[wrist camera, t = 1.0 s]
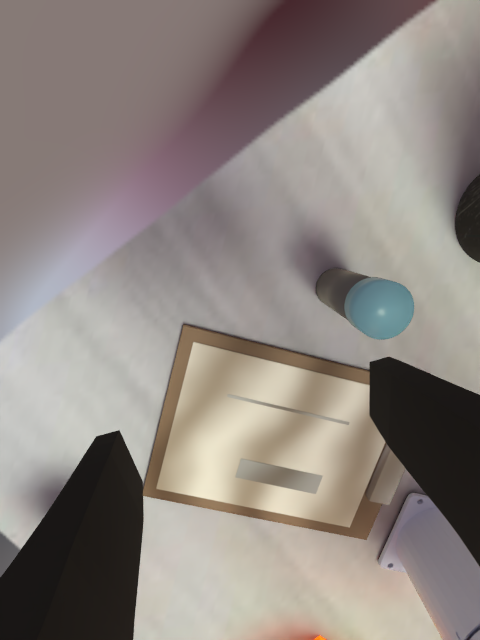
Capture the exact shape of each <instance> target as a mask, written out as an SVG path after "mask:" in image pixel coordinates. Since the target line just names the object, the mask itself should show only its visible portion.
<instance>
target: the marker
mask: <svg viewBox="0 0 480 640" xmlns="http://www.w3.org/2000/svg"><path fill="white" fill-rule="evenodd" d="M316 293H317V296H318V298H319V299H320V301H321V302H323V303H324V304H325V305H327V306H328V307H330V308H331V309H333V310H334V311H336V312H337V313H339V314H340V315H341V316H343V317H344V318H346V319H347V320H348V321H349V322H350V323H351V324H352V325H353V326H354V327H356V328H357V329H358V330H360V331H361V332H363V333H364V334H366V335H367V336H369V337H371V338H374V339H389V338H392V337H394V336H397V335H398V334H400V333H401V332H402V331H403V330H404V329H406V327H407V326H408V325H409V323H410V321H411V319H412V317H413V313H414V301H413V298H412V295H411V293H410V292H409V291H408V289H407V288H406V287H404V286H403V285H401V284H399V283H397V282H393V281H389V280H386V279H382V278H377V277H368V276H365V275H361V274H357V273H354V272H350V271H347V270H343V269H339V268H333V269H330V270H327V271H326V272H324V273H323V274H322V275H321V276H320V278H319V279H318V281H317V285H316Z"/></svg>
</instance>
